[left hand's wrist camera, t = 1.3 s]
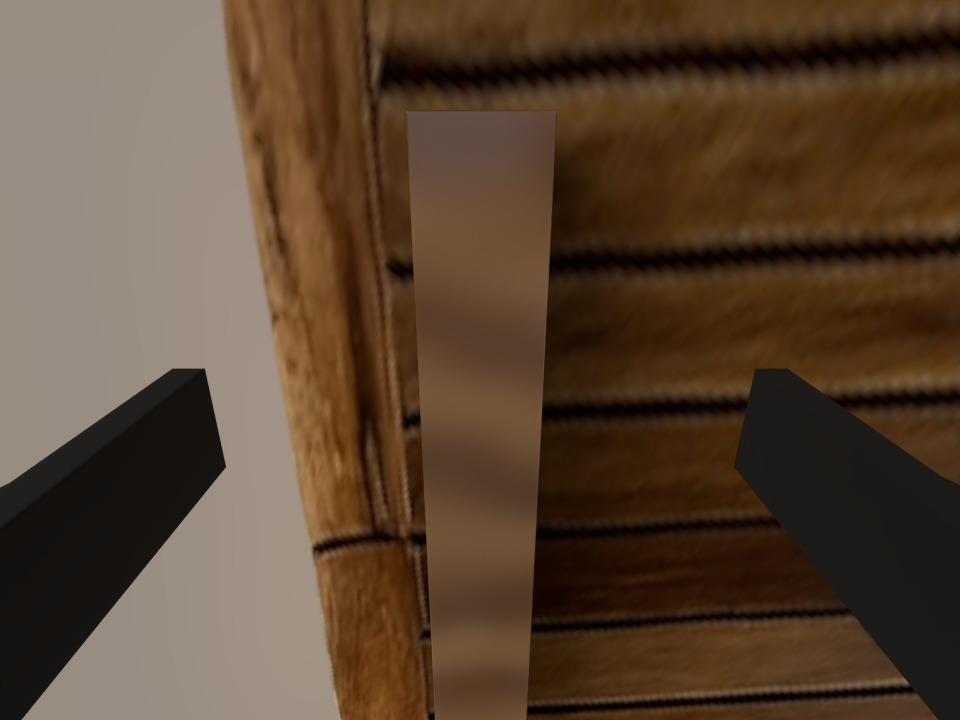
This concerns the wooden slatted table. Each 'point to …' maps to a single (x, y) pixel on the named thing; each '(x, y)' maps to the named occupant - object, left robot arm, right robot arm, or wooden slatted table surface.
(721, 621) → the wooden slatted table surface
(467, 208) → the bar
